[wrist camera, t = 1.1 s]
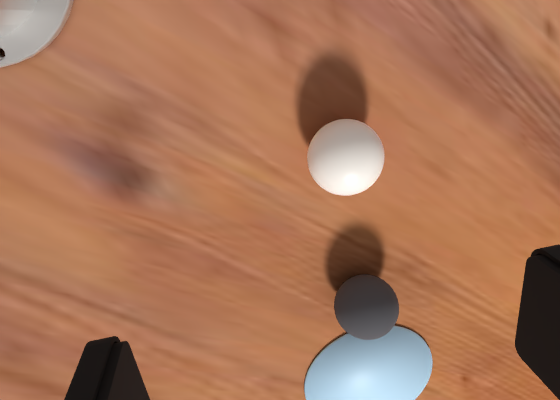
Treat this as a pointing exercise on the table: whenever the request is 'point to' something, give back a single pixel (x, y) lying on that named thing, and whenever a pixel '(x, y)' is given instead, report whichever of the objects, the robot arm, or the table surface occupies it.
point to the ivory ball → (345, 157)
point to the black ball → (366, 307)
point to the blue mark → (371, 368)
